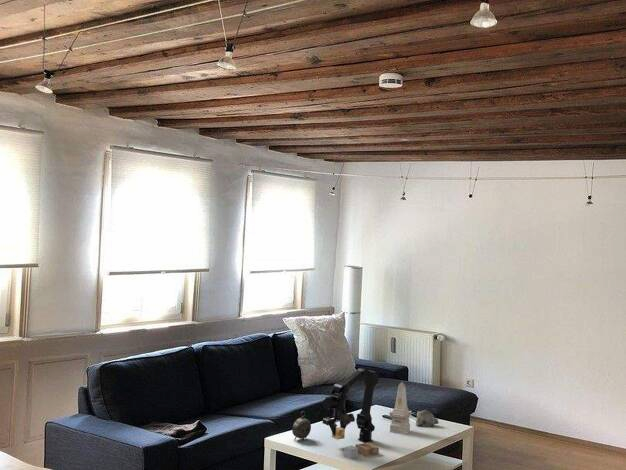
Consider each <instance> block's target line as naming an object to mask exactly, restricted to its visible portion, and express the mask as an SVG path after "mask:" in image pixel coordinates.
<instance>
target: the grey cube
mask: <svg viewBox="0 0 626 470" xmlns="http://www.w3.org/2000/svg"><path fill="white" fill-rule="evenodd" d="M343 451H344V453H343V454H344V455H343V457H346V458H347V459H350V460H352V459H357V458H358V457H359V453H358V448H357V447H355V445H347V446H344V450H343Z"/></svg>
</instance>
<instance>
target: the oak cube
mask: <svg viewBox="0 0 626 470" xmlns="http://www.w3.org/2000/svg"><path fill="white" fill-rule="evenodd" d="M345 432H346V428H345V429H343V428H340V426H337V427H336V434H335V436H333V433H332V432H331V438H332V439H334V440H337V441H338V440H343V439H345V437H346V436H345V434H346V433H345Z"/></svg>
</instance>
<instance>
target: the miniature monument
mask: <svg viewBox="0 0 626 470" xmlns="http://www.w3.org/2000/svg"><path fill="white" fill-rule="evenodd" d="M394 402H395V403H394V408H393V409H392V411H389V417H391V423H390V424H389V432H390V433H394V434H400V435H407V434H408V433H409V432H410V431H411V423H410V416H412V410H409V407H408V401H407V389H406V384H405V383H404V382H403V381H401V382H400V383H399V384H398V386H397V393H396V398H395V401H394Z"/></svg>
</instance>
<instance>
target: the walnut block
mask: <svg viewBox="0 0 626 470" xmlns="http://www.w3.org/2000/svg"><path fill="white" fill-rule="evenodd" d="M354 447H357V448H358V455H362V456H363V457H370V456H375V455H379V453H380V452H379V451H380V446H377V445H374V444H373V443H371V442H362V443H357V444H355V445H354Z"/></svg>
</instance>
